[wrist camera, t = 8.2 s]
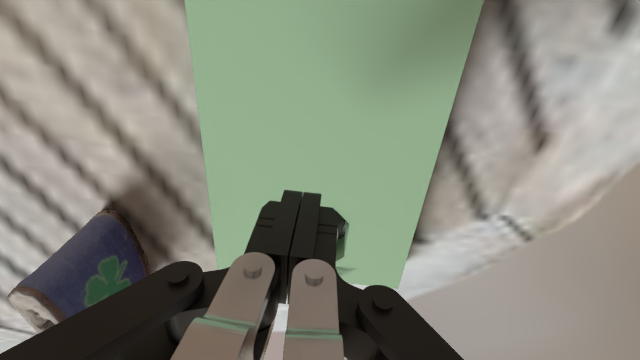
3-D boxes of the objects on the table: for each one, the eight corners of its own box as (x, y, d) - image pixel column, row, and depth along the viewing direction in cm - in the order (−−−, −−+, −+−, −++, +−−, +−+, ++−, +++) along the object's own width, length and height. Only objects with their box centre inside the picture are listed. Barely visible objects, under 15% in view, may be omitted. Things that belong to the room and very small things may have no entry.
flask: (94, 207, 27) (-32, 317, 18) (127, 208, 27) (16, 319, 18) (128, 282, 32) (42, 399, 23) (156, 283, 32) (81, 401, 23)
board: (200, -31, 18) (180, -34, 16) (468, -7, 18) (485, -7, 15) (227, 247, 29) (217, 268, 27) (394, 266, 28) (397, 288, 26)
